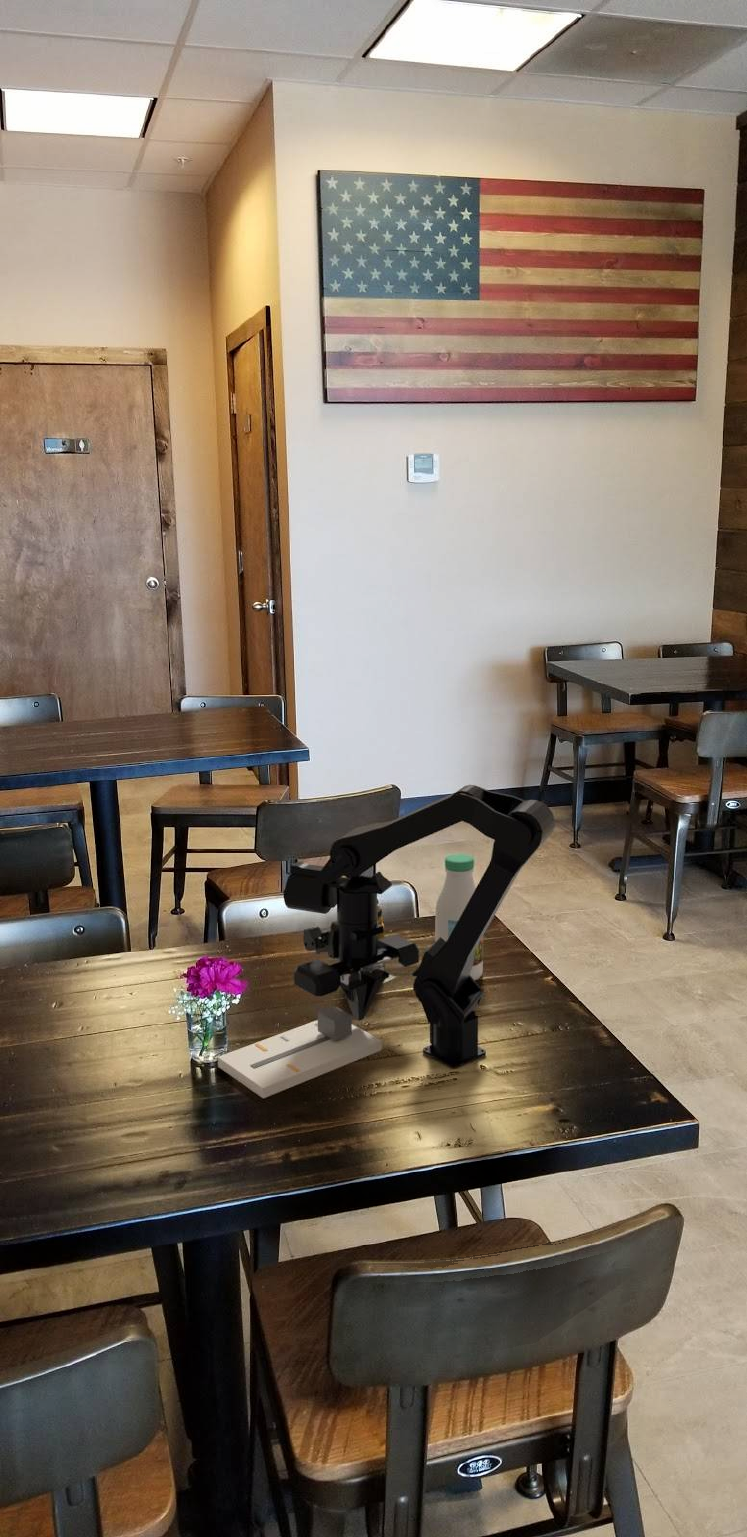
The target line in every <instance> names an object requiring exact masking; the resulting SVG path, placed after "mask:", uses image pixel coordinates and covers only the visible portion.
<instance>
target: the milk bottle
mask: <svg viewBox="0 0 747 1537" xmlns="http://www.w3.org/2000/svg"><path fill="white" fill-rule="evenodd" d="M444 867H445V868H444V870H445V872H446V873H445V874H446V876H445V879H444V882H443V885H442V886H441V887H442V888H441V889H440V892H439V894H438V897H437V900H436V904H435V916H434V917H435V918H434V919H435V922H434V923H435V924H434V927H435V928H434V934H435V936H434V941H435V942H436V941H437V940H438V939H439V938H440V937H441V938H442V939H443V940H444V941H446V942H447V940H448V938H449V936H450V935H451V933H452V931H453V929H454V927H455V926H456V924H457V922H458V920H459V918H460V916H461V915H462V913H463V911H464V909H465V907H466V906H467V904H468V902H469V900H470V898H471V896H472V895H473V893H474V891H475V889H476V887H477V886H476V883H475V882H474V876H473V873H474V871H475V868H474V867H475V858H474V857H473V856H471V855H469V854H464V853H456V854H455V853H454V854H450V855H446V857H445V858H444ZM435 942H434V943H435ZM483 964H484V936H483V937H482V939H481V940H480V942H479V944H478V946H477V947H476V950H475V954H474V961H473V966H472V969H471V972H470V976H471V977H472V978H473V979H474V980H475V981H477V980H479V979H480V978H481V977H482V975H483V971H484V970H483V968H484V965H483Z"/></svg>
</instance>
